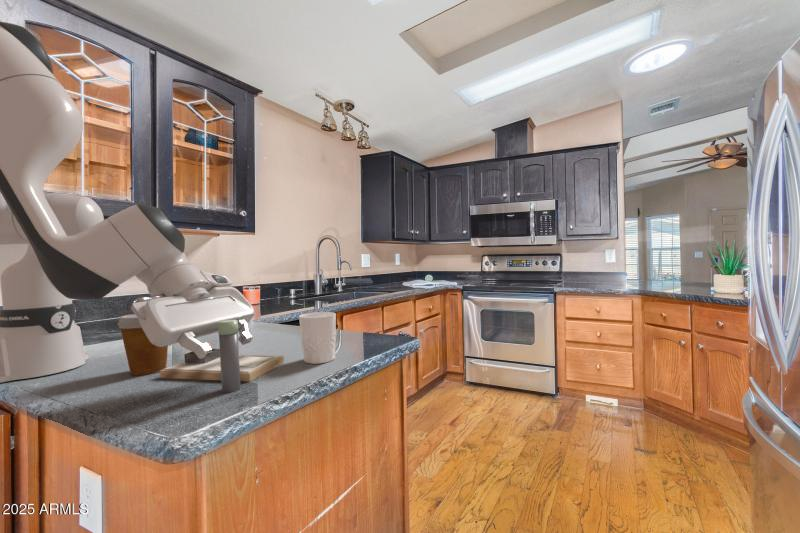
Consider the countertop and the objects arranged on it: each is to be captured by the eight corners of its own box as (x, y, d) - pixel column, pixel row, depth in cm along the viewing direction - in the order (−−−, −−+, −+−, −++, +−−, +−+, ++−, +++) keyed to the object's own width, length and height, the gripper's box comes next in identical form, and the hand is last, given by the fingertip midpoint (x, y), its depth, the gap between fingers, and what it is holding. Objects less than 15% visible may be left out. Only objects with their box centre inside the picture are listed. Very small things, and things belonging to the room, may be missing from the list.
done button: (190, 355, 78) (190, 346, 78) (201, 351, 81) (201, 342, 81) (203, 356, 78) (203, 346, 77) (214, 351, 81) (214, 342, 81)
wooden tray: (160, 378, 74) (159, 360, 73) (204, 360, 85) (203, 345, 85) (250, 381, 69) (249, 362, 69) (283, 362, 81) (283, 346, 81)
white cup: (329, 365, 78) (327, 317, 77) (294, 364, 79) (292, 317, 79) (342, 355, 85) (340, 311, 85) (310, 354, 87) (308, 311, 87)
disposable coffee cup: (185, 364, 82) (182, 310, 82) (145, 379, 73) (141, 318, 73) (151, 363, 85) (148, 310, 84) (108, 377, 76) (104, 318, 75)
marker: (217, 392, 64) (213, 323, 64) (229, 385, 67) (225, 319, 67) (233, 393, 64) (229, 323, 63) (245, 386, 67) (241, 319, 66)
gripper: (134, 285, 57) (185, 351, 54) (234, 276, 77) (276, 324, 74) (116, 313, 59) (165, 379, 56) (218, 298, 78) (259, 346, 75)
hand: (229, 348), depth 65 cm, fingers open, 8 cm apart
